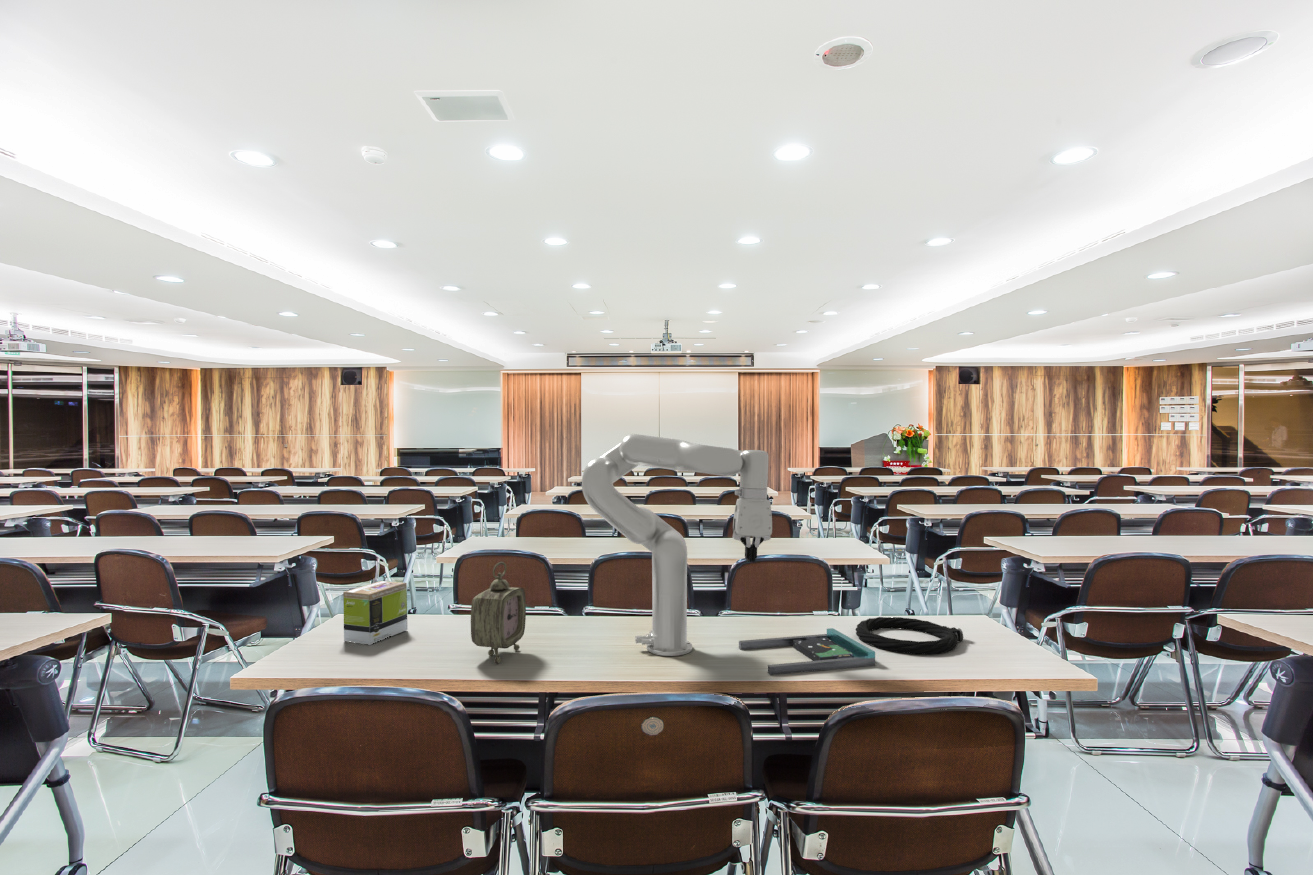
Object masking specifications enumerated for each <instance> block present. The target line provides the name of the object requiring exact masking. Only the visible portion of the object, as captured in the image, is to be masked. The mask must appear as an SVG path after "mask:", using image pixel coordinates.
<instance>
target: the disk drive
mask: <svg viewBox="0 0 1313 875" xmlns="http://www.w3.org/2000/svg"><path fill="white" fill-rule="evenodd" d="M792 646H793V649H795V650H796V651H798V652H800V653H801V654H802V655H804V656H805V657H807V658H808V659H809V660H810V661H818V660H829V659H841V658H852V657H854V656H853V653H851V652H850V651H849V650H847V649H845V648H843V647H841V646H840V645H838V644H836V643H835V642H833V641H831V640H830V639H828V638H826V637H823V638H811V639H807V640H805V641H803V640H801V639H799V640H793V645H792Z"/></svg>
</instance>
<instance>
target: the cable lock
mask: <svg viewBox="0 0 1313 875" xmlns="http://www.w3.org/2000/svg"><path fill="white" fill-rule="evenodd" d="M891 617H893V618H891ZM891 617H889V616H888V617H886V616H885V617H884V616H878V617H875V618H874V617H872V618H871V617H870V618H867V619H866V620H861V621H860V622H859V623H858V624H857V625H856V627H855V631H856V632H855V635H856V636H857V637H858V639H859V640H861V641H862V642H864V644H867V645H870V646H872V647H874V648H876V649H880V650H884V651H890V652H894V653H897V654H908V655H918V656H920V655H921V656H922V655H937V654H938V655H939V654H943V653H948V652H950V651H953V650H954V649H955V648H956V647H957V646H958V644H959V642H958V641H960V642H963V641H964V632H963V630H962V629H961V628H956V627H955V626H954V627H949V626H947V625H940V624H937V623H935V622H931V621H929V620H921V619H917V618H909V617H899V616H898V617H897V616H896V617H895V616H891ZM881 628H890V629H896V628H901V629H900V630H910V631H915V632H919V633H920V632H921V633H925V632H926V634H928V635H931V636H936V637H938V638H939V639H937V640H926V641H925V640H923V641H920V640H919V641H917V640H916V641H915V640H907V639H897V638H891V637H886V636H883V635H880V634H877V633H873V632H872V631H877V630H881Z"/></svg>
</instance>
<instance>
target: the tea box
mask: <svg viewBox="0 0 1313 875" xmlns="http://www.w3.org/2000/svg"><path fill="white" fill-rule="evenodd" d="M407 584H408V583H407V582H401V581H400V582H398V581H386V580H379V581H377V582H376V581H375V582H372V583H369V584H366V585H363V586H359V587H356V588H352V589H349V590H345V591H343V641H344V642H345V641H351V642H355V643H354V644H356V643H361V644H360V645H364V644H368V646H371V645H373V643H374V644H375V642H376V643H378V642H377V641H379V642H381V641H384V640H386V639H388V638H390V637H389V636H391V637H394V636H396V635H399V634H400V633H403V632H405V631H408V595H407V594H408V590H407V589H408V588H407V586H408V585H407ZM387 637H388V638H387ZM385 638H386V639H385ZM380 640H381V641H380Z"/></svg>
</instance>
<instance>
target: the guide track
mask: <svg viewBox="0 0 1313 875" xmlns="http://www.w3.org/2000/svg"><path fill="white" fill-rule="evenodd" d="M823 637H826V638H828V639H830V640H831V641H833V642H835V643H836V644H838V645H840V646H841V647H843V648H845V649H847V650H849V651H850V652H851V653H853V656H854V657H852V658H841V659H829V660H818V661H812V660H809V661H808V660H807V661H799V662H796V661H795V662H787V663H777V664H776V663H775V664H774V663H773V664H767V674H768V675H769V676H777V675H788V674H798V673H808V672H809V673H810V672H820V671H829V670H840V669H841V670H842V669H852V668H863V667H864V668H865V667H873V666H874V667H875V666H876V651H874V650H873V649H871V648H869V647H867V646H866V645H864V644H862V643H860V642H858V641H856V640H855V639H853V638H851V637H850V636H847V635H846V634H844V633H842V632H840V631H839V630H837V629H835V628H833V627H832V628H829V627H828V628H826V633H823V634H809V635H807V634H806V635H796V636H795V635H794V636H783V637H782V636H781V637H771V638H758V639H757V638H756V639H745V640H738V649H739V650H742V651H743V650H751V649H752V650H753V649H754V650H755V649H767V648H777V647H790V646H793V640H799V639H801V640H803V641H805V640H807V639H811V638H823Z"/></svg>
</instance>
